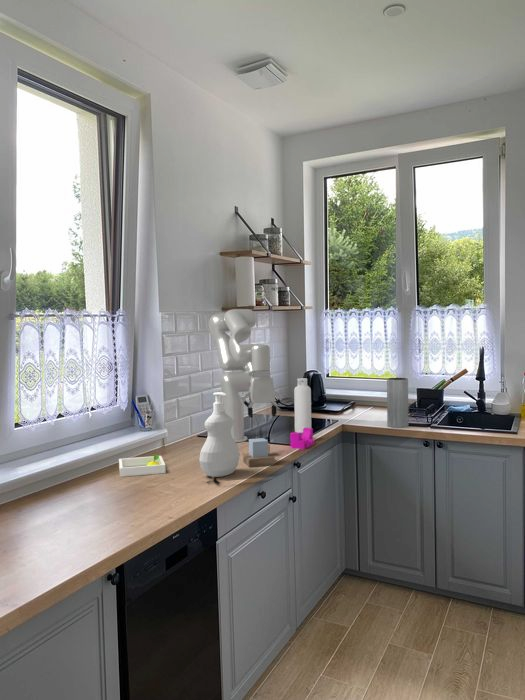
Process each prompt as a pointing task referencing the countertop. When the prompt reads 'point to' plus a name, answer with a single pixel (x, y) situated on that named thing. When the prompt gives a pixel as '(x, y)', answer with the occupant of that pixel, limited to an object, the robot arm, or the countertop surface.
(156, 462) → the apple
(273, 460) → the walnut base plate
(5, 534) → the countertop surface
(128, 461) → the ceramic fruit dish rim
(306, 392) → the bottle
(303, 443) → the toy block
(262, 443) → the slate block
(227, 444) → the soap bottle
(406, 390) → the vase
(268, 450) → the terracotta cube
